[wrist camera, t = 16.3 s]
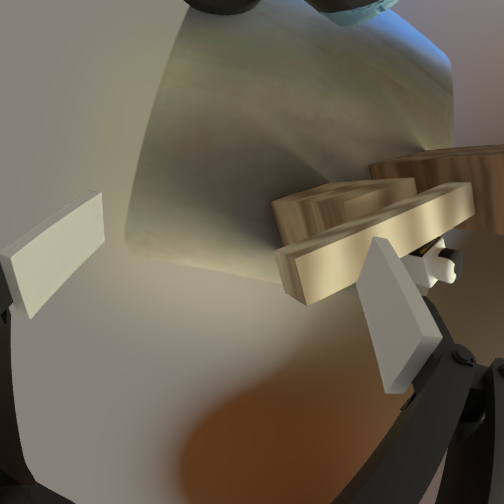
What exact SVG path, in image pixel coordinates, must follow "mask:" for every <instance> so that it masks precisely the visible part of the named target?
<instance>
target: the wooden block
mask: <svg viewBox="0 0 504 504" xmlns="http://www.w3.org/2000/svg"><path fill="white" fill-rule="evenodd" d="M474 214H475V209H474V200H473V192H472V185H471V182H447V183H444V184H442V185H439V186H437V187H434V188H432V189H429V190H427V191H424V192H422V193H419V194H417V195H414V196H412V197H409V198H407V199H404V200H402V201H399V202H397V203H394V204H392V205H389V206H387V207H384V208H382V209H379V210H376V211H374V212H371V213H369V214H366V215H364V216H361V217H359V218H356V219H354V220H351V221H349V222H346V223H344V224H341V225H339V226H336V227H333V228H331V229H328V230H326V231H323V232H321V233H318V234H316V235H313V236H311V237H308V238H305V239H303V240H300V241H298V242H295V243H293V244H290V245H288V246H285V247H282V248H280V249H277V250H275V251H274V254H275V258H276V261H277V265H278V268H279V272H280V276H281V279H282V283H283V286H284V290H285V293H287V294H288V295H290V296H291V297H293V298H295V299H296V300H298V301H299V302H301V303H303V304H304V305H306V306H308V305H311V304H313V303H315V302H317V301H319V300H321V299H323V298H325V297H327V296H329V295H331V294H333V293H335V292H337V291H339V290H341V289H343V288H345V287H347V286H349V285H351V284H353V283H355V282H357V281H358V278H359V275H360V272H361V270H362V267H363V264H364V261H365V258H366V255H367V253H368V250H369V247H370V244H371V241H372V237H373V236H376V237H381V238H386V239H388V240H389V242H390V244H391V245H392V247H393V248H394V250H395V252H396V253H397V255H398V257H399V258H402V257H403V256H405V255H407V254H409V253H411V252H412V251H414V250H416V249H418V248H419V247H421V246H423V245H425V244H426V243H428V242H430V241H431V240H433V239H435V238H437V237H438V236H440V235H442V234H443V233H445V232H447V231H448V230H450V229H452V228H453V227H455V226H456V225H458V224H460V223H461V222H463V221H465V220H466V219H468V218H469V217H471V216H473V215H474Z"/></svg>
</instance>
